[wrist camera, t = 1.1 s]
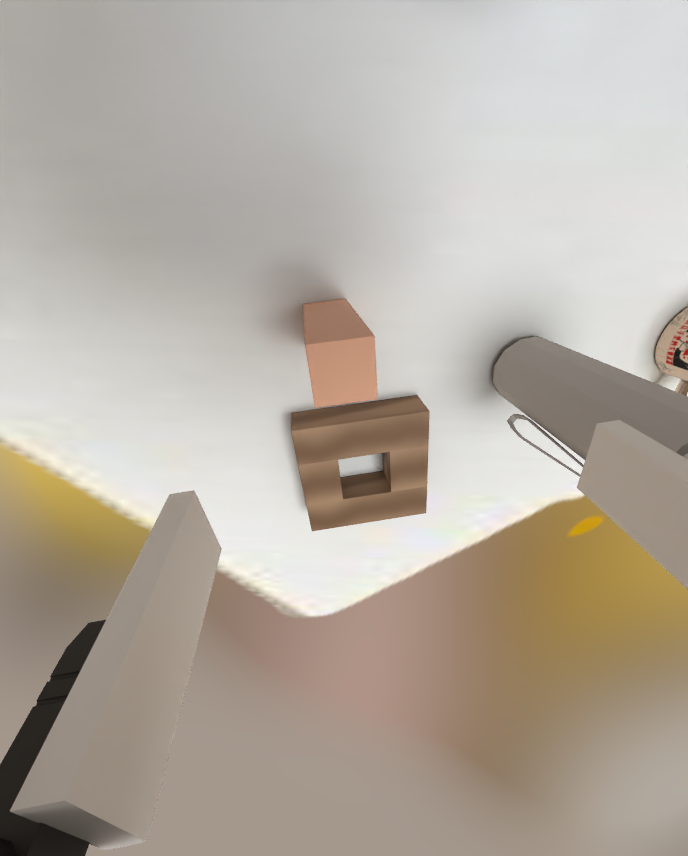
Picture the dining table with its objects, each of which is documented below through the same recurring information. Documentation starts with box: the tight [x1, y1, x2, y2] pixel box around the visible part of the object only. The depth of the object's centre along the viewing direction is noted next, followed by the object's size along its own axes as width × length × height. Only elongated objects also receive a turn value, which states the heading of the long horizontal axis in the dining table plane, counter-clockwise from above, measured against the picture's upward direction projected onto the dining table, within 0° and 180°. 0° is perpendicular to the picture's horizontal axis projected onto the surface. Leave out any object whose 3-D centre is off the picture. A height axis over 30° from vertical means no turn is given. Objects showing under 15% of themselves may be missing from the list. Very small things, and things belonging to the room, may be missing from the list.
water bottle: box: [493, 336, 688, 477], centre depth 26 cm, size 9×8×25 cm
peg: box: [303, 299, 378, 408], centre depth 26 cm, size 4×4×14 cm
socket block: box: [291, 395, 429, 531], centre depth 38 cm, size 14×14×4 cm
